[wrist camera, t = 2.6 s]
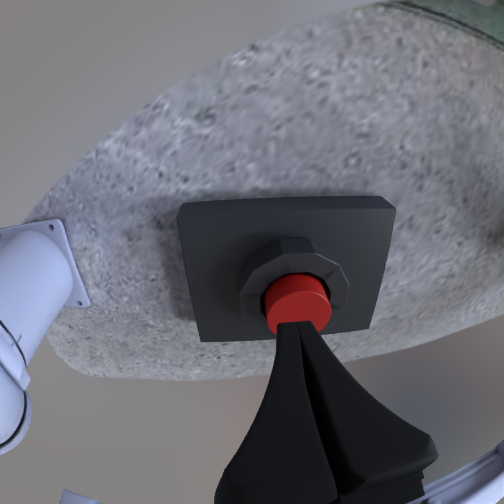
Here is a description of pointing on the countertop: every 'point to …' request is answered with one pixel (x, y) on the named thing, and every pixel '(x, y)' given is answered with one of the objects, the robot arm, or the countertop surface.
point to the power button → (297, 301)
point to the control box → (282, 258)
